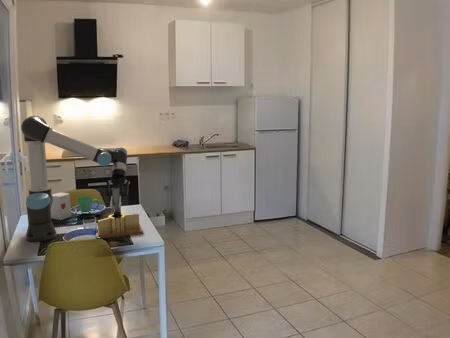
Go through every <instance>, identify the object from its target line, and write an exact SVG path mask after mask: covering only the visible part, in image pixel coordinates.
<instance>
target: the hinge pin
mask: <svg viewBox="0 0 450 338" xmlns="http://www.w3.org/2000/svg"><path fill="white" fill-rule="evenodd" d="M111 189H112V196H113V207H112V209H113V214H114V217H121V214H122V207H121V208H119V198H120V196H121V190H120V187H119V186H116V187H115V188H112V187H111Z"/></svg>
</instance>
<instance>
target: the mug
mask: <svg viewBox="0 0 450 338" xmlns="http://www.w3.org/2000/svg"><path fill="white" fill-rule="evenodd" d="M94 202H97V205H96V207H95V208H94V209H92V208H93V203H94ZM76 203H77V205H78V208H79V211H80V213H81V212H89V211H93V212H95V211H97V209H99V207H100V206H101V201H100V200H99V199H97V198H95V199H94V198H93V196H80V197H77V198H76Z"/></svg>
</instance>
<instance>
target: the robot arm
mask: <svg viewBox="0 0 450 338" xmlns="http://www.w3.org/2000/svg"><path fill="white" fill-rule="evenodd" d="M20 130H21V132H22V135H23V138H24V139H23V140H24V141H23V142H25V144H27V149H28V150H27V151H28V152H27V153H28V164H29V173H30V174H29V175H30V185H31V186H30V187H29V189H28V195H27V196H26V198H25V206H26V214H27V223H28V224H27V225H28V226H27V229H26V232H25V240H26V241H28V242H32V243H36V242H37V243H39V242H46V241H49V240H52V239H54V238H56V237H57V231H56V228H55V226H54V224H53V221H52V218H51V205H52V202H53V197H52V195H53V194H52V187H51V185H50V186H49V183H48V169H47V168H48V167H47V156H46V144H50V145H51V146H55V147H57V148H60V149H62V150H65V151H67V152H70V153H73V154H75V155H77V156H80V157H83V158H85V159H87V160H90V161H92V162H94V163H96V164H98V165H100V166H102V167H108V166H110V164H112V171H111V178H110V179H109V180H108V179H106V180H105V182H106V190H105V196H106V198H108V202H109V203H110V204H109V207H110V209H111V210H112V209H113V196H112V188H115V187H119V188H120V198H119V208H121V209H122V203H124V199H125V197H128V193H129V186H130V184H131V180H130V179H126V173H127V172H126V171H127V161H128V151H127V149H126V148H124V147H116V148H115V149H113V150H112V149H107V148H102V147H95V146H93V145H90V144H89V143H86V142H84V141H81V140H79V139H76V138H74V137H72V136H69V135H67V134H65V133H62V132H60V131H58V130H55V129H53V127H52V126H51V125H48V124H47V122H46V119H44V118H43V117H41V116H39V115H31V116H28V117H27V118H25V119H24V120H23V121H22V122H21V125H20ZM111 184H112V186H110V185H111ZM124 184H125V189H124V188H123V185H124ZM110 187H111V189H110Z"/></svg>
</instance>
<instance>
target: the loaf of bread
mask: <svg viewBox="0 0 450 338" xmlns="http://www.w3.org/2000/svg"><path fill="white" fill-rule="evenodd" d="M96 228H97V229H98V233H96V234H95V238H96V237H100V238H101V239H108V238H116V237H117V238H119V237H125V236H133V235H134V236H136V235H142V234H144V230H143V228H142V226H141V224H140V213H129V214H128V213H127V214H124V213H121V217H114V213H112V214H109V215H108V216H107V217H106V218H103V219H99V220H97V227H96Z"/></svg>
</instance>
